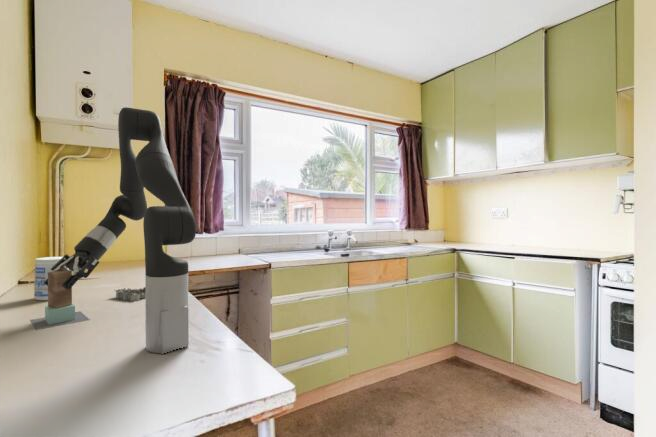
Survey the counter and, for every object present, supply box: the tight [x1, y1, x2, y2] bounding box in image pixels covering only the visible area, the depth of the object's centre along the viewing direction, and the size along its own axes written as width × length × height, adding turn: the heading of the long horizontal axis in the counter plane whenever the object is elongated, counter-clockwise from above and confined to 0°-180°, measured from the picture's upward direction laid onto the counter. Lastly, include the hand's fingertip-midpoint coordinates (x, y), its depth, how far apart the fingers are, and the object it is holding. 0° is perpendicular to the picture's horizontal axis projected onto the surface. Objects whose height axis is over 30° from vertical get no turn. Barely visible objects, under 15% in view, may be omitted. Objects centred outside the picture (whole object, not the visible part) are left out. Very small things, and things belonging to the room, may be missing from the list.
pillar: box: [47, 270, 73, 309], centre depth 98 cm, size 4×4×10 cm
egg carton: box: [113, 286, 146, 302], centre depth 125 cm, size 11×8×4 cm
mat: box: [29, 310, 91, 331], centre depth 99 cm, size 12×12×1 cm
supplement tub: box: [33, 256, 64, 301], centre depth 124 cm, size 10×10×15 cm
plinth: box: [44, 303, 76, 325], centre depth 98 cm, size 6×6×4 cm
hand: (55, 286), depth 97 cm, fingers open, 8 cm apart
